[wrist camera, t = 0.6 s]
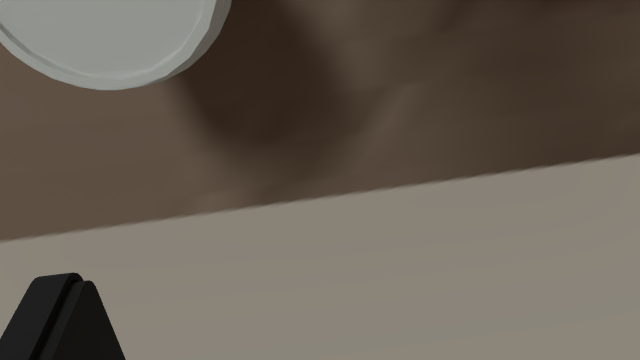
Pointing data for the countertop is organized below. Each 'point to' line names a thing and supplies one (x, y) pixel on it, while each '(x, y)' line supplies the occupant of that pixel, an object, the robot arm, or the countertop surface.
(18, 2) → the disposable coffee cup
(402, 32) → the countertop surface
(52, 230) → the countertop surface
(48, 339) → the robot arm
